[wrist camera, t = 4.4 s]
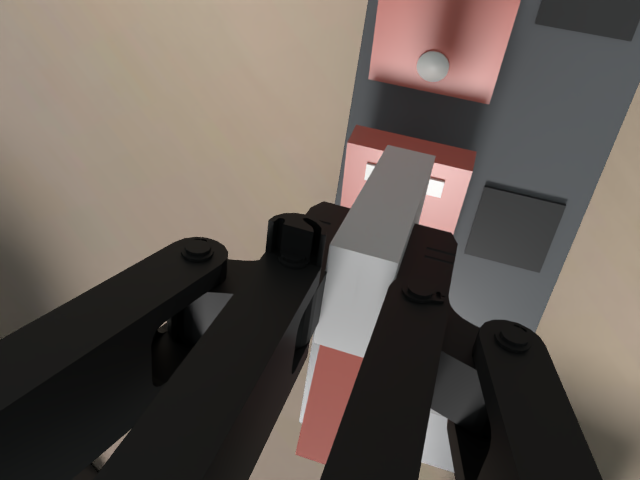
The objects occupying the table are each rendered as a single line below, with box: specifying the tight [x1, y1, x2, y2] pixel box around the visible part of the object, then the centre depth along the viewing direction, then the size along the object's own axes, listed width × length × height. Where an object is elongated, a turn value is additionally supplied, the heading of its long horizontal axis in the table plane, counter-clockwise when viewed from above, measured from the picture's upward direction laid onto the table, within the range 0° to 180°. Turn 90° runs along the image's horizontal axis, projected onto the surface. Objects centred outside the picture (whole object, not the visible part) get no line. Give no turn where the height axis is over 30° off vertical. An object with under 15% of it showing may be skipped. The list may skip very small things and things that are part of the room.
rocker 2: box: [340, 125, 477, 234], centre depth 23 cm, size 4×8×1 cm, turn 172°
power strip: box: [299, 0, 640, 473], centre depth 27 cm, size 10×36×5 cm, turn 172°
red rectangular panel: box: [296, 345, 363, 465], centre depth 27 cm, size 4×8×1 cm, turn 172°
